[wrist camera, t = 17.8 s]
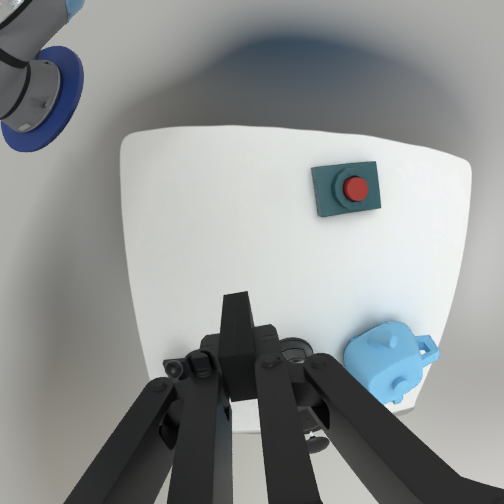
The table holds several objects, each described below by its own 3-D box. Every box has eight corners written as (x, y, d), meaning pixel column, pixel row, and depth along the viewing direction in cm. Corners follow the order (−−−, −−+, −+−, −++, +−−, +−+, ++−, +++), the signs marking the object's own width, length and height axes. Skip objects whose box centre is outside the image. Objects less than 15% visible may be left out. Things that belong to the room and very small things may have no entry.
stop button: (341, 178, 41) (345, 178, 39) (362, 176, 41) (366, 176, 39) (344, 201, 42) (348, 202, 40) (364, 198, 42) (369, 199, 40)
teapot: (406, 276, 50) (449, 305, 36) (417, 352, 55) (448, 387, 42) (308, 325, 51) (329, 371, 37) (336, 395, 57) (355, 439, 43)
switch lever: (166, 359, 46) (160, 362, 43) (183, 358, 46) (178, 360, 43) (181, 425, 43) (176, 431, 40) (197, 424, 43) (193, 430, 40)
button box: (311, 167, 44) (317, 166, 40) (370, 161, 44) (380, 160, 40) (318, 215, 46) (325, 218, 42) (375, 206, 46) (386, 209, 42)
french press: (288, 326, 51) (317, 417, 29) (324, 347, 53) (364, 432, 31) (251, 368, 53) (259, 462, 31) (287, 385, 55) (308, 473, 33)
